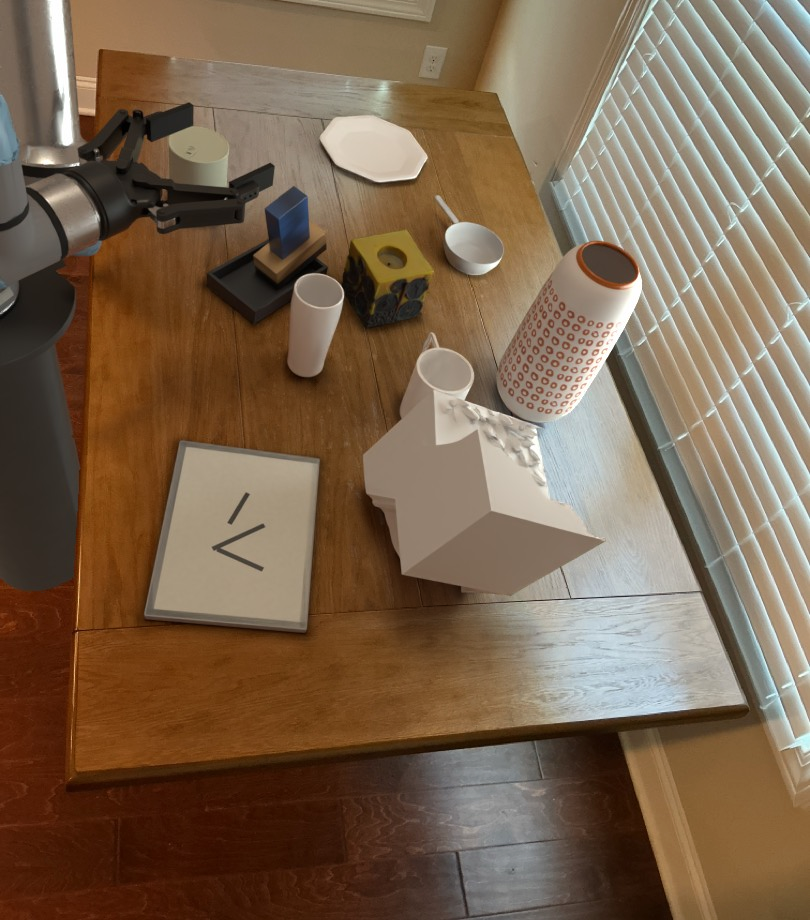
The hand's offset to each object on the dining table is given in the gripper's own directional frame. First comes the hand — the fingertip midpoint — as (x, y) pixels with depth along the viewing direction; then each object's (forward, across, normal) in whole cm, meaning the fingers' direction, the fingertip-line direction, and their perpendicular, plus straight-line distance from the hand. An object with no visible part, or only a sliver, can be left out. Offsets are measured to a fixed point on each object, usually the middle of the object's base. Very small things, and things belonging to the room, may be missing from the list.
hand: (231, 143), depth 90 cm
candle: (+21, +14, -28) cm, 38 cm away
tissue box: (-7, +48, -28) cm, 56 cm away
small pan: (+44, +14, -28) cm, 54 cm away
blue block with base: (+15, 0, -26) cm, 30 cm away
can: (+13, -20, -28) cm, 37 cm away
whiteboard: (-25, +29, -28) cm, 47 cm away
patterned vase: (+24, +43, -28) cm, 56 cm away
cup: (+10, +32, -28) cm, 44 cm away
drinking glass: (+2, +16, -28) cm, 32 cm away
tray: (+10, 0, -28) cm, 30 cm away
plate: (+51, -13, -28) cm, 60 cm away
